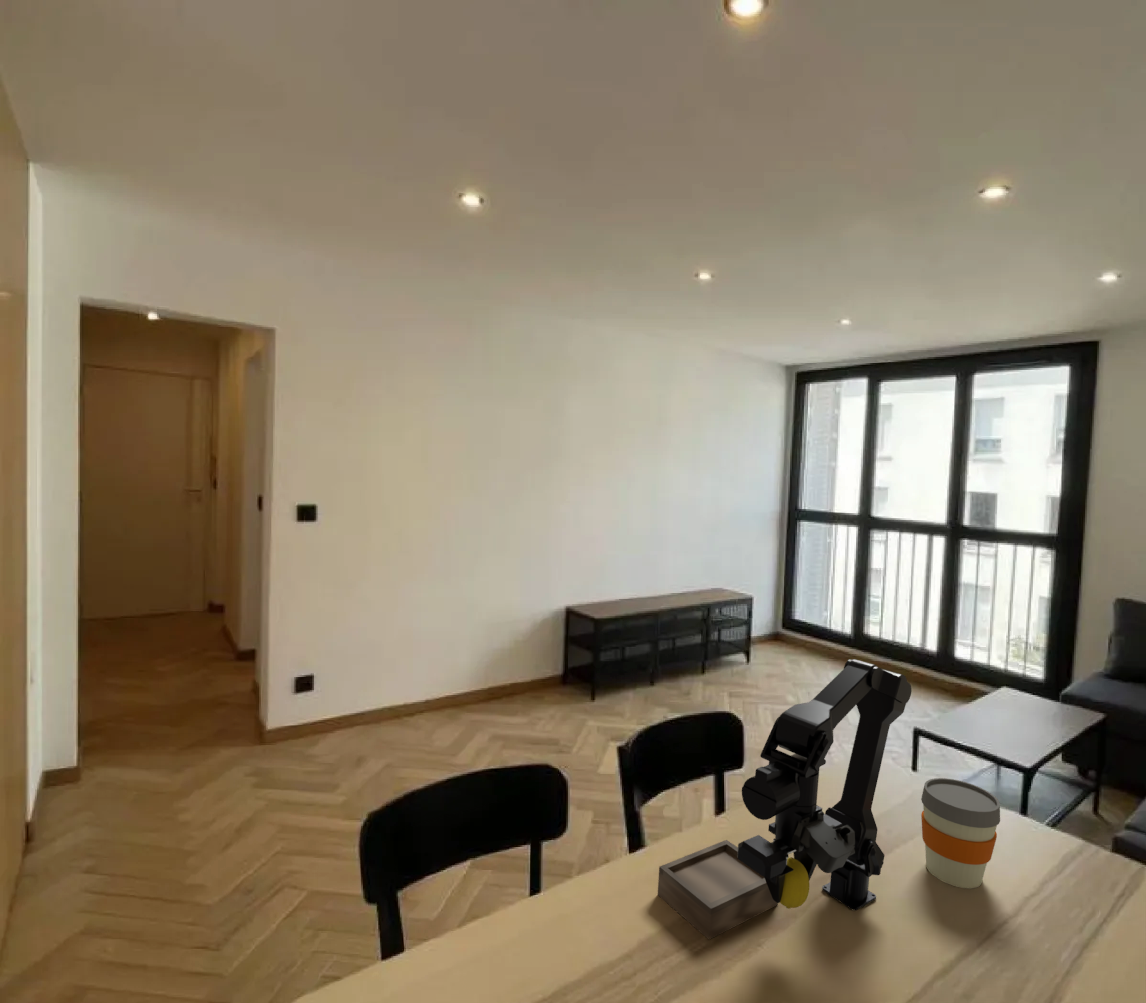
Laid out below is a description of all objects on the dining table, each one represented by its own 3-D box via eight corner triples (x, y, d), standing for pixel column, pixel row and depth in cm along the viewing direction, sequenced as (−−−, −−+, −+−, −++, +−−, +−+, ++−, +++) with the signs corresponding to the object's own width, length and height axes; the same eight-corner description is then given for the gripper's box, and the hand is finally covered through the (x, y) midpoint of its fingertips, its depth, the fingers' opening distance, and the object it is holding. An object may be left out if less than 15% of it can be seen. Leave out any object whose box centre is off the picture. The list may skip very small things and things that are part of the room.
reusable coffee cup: (979, 905, 116) (987, 820, 115) (903, 868, 125) (911, 790, 124) (1003, 876, 124) (1011, 798, 123) (931, 844, 133) (938, 771, 132)
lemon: (809, 923, 101) (813, 872, 100) (771, 916, 102) (774, 865, 101) (804, 899, 106) (808, 850, 106) (768, 893, 107) (771, 845, 107)
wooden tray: (724, 866, 123) (726, 839, 123) (777, 904, 113) (779, 876, 113) (657, 894, 114) (659, 866, 114) (708, 939, 104) (710, 908, 104)
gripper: (801, 841, 91) (792, 951, 92) (882, 806, 101) (873, 905, 102) (738, 803, 100) (731, 903, 101) (818, 774, 110) (811, 865, 112)
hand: (789, 895), depth 104 cm, fingers closed on lemon, 5 cm apart
